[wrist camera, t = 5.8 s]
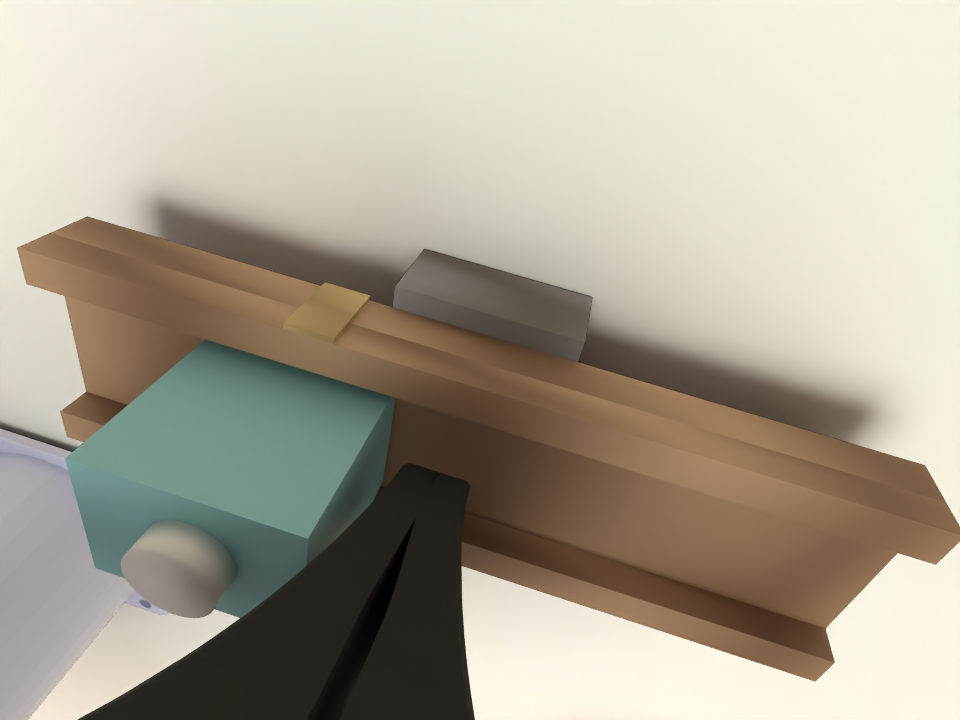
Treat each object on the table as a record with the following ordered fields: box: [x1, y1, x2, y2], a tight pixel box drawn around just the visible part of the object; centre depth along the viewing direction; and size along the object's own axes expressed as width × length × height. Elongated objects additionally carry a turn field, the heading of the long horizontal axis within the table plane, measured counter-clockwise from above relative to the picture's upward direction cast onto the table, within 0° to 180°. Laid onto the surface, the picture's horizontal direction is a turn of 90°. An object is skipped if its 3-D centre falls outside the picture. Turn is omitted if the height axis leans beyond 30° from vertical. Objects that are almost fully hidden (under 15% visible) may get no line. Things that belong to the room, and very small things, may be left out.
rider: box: [65, 339, 396, 618], centre depth 11 cm, size 4×3×5 cm
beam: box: [17, 217, 960, 681], centre depth 14 cm, size 18×6×4 cm, turn 78°
